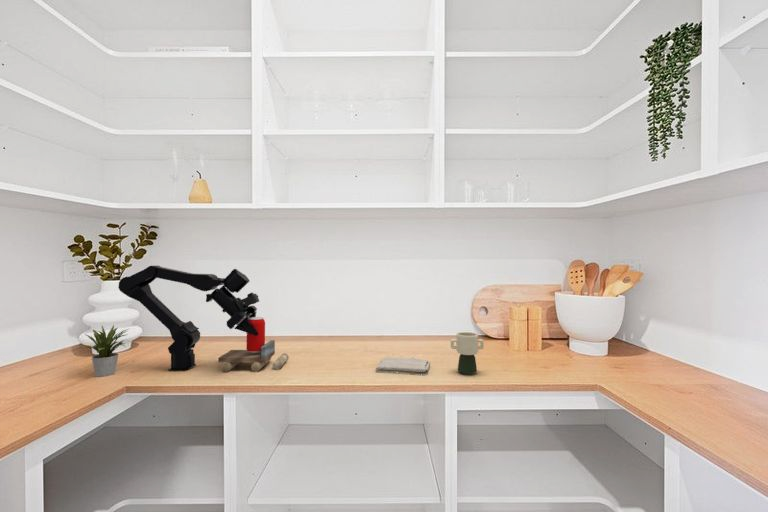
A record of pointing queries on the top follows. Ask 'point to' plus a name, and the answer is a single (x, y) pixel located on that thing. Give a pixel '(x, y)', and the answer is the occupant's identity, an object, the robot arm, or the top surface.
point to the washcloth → (403, 365)
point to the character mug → (467, 350)
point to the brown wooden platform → (248, 357)
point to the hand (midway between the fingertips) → (259, 333)
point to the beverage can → (256, 341)
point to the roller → (280, 361)
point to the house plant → (105, 352)
